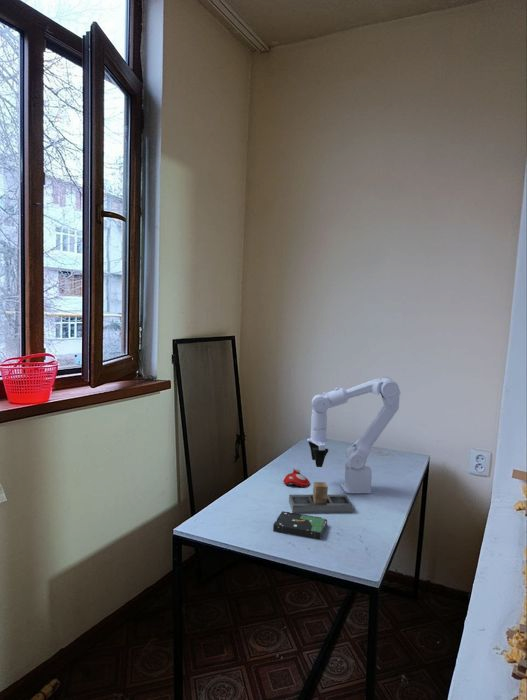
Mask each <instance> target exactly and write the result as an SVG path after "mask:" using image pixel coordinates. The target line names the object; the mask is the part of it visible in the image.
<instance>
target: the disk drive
mask: <svg viewBox="0 0 527 700" xmlns="http://www.w3.org/2000/svg"><path fill="white" fill-rule="evenodd" d="M272 525H273V526H272V532H275V533H281V534H286V535H291V536H297V537H302V538H309V539H313V540H319V541H321V540H323V539H322V538H323V536H324V534H325V531H326V529H327V526H328V518H323V517H319V516H314V515H308V514H304V513H293V512H292V511H291V512H290V511H283V510H282V511H281V512H280V514H279V515H278V517H277V518H276V521H274V523H273V524H272Z"/></svg>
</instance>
